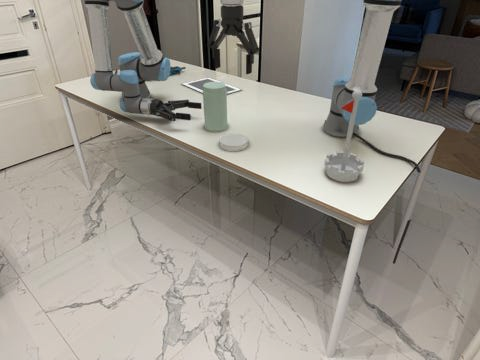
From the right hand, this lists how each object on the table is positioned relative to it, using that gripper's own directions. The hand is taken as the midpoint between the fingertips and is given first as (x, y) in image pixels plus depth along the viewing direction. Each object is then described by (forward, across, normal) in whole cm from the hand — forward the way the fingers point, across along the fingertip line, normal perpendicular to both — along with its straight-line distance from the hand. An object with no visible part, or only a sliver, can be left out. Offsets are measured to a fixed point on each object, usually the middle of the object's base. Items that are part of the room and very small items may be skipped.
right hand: (232, 70), depth 123 cm
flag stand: (+30, -45, -2) cm, 54 cm away
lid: (+28, 0, 0) cm, 28 cm away
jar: (+30, +16, -10) cm, 36 cm away
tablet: (+30, +52, -54) cm, 81 cm away
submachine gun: (+30, +99, -59) cm, 119 cm away
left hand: (+24, +25, -8) cm, 35 cm away
